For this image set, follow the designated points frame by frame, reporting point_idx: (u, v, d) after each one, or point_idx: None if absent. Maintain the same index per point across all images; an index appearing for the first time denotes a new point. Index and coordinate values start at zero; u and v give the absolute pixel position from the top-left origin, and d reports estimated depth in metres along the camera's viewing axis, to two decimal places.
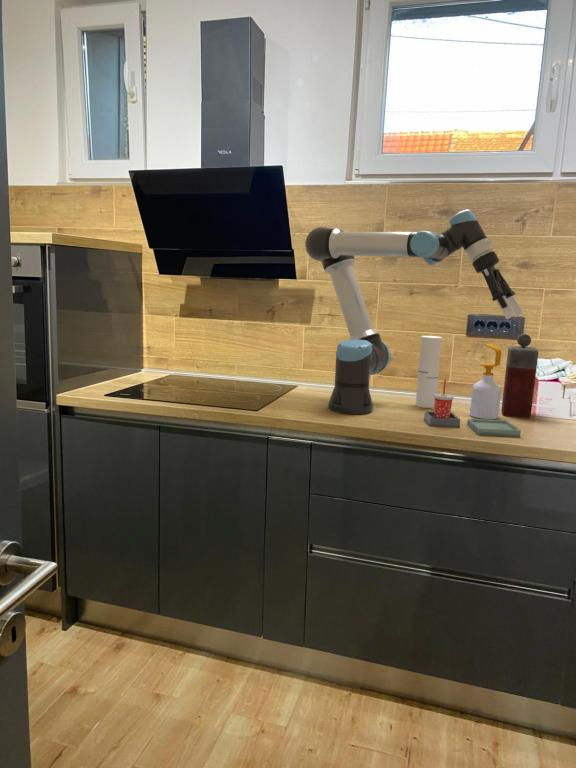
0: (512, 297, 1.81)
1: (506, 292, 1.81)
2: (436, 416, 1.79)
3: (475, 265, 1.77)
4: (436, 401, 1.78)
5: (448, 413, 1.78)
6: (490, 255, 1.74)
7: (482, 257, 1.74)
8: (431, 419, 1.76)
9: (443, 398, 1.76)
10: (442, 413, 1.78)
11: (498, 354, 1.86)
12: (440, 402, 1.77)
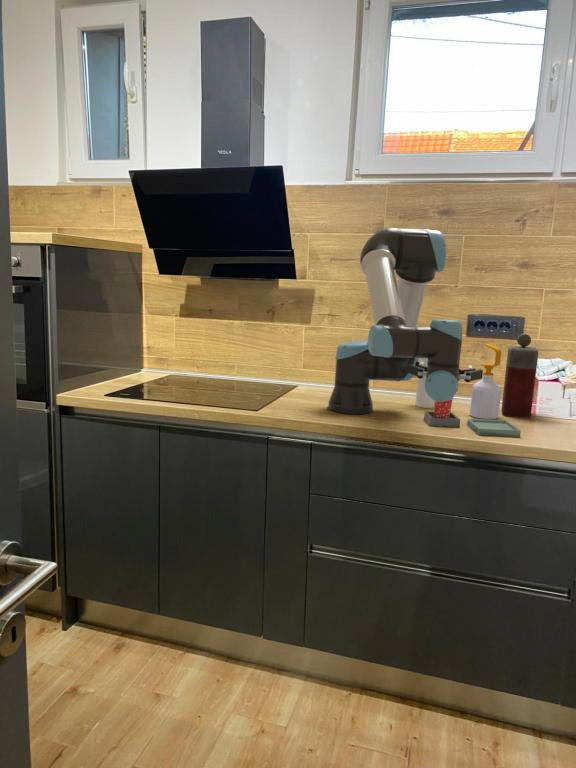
0: None
1: None
2: (436, 416, 1.79)
3: None
4: (436, 401, 1.78)
5: (448, 413, 1.78)
6: None
7: None
8: (431, 419, 1.76)
9: None
10: (442, 413, 1.78)
11: (498, 354, 1.86)
12: (440, 402, 1.77)
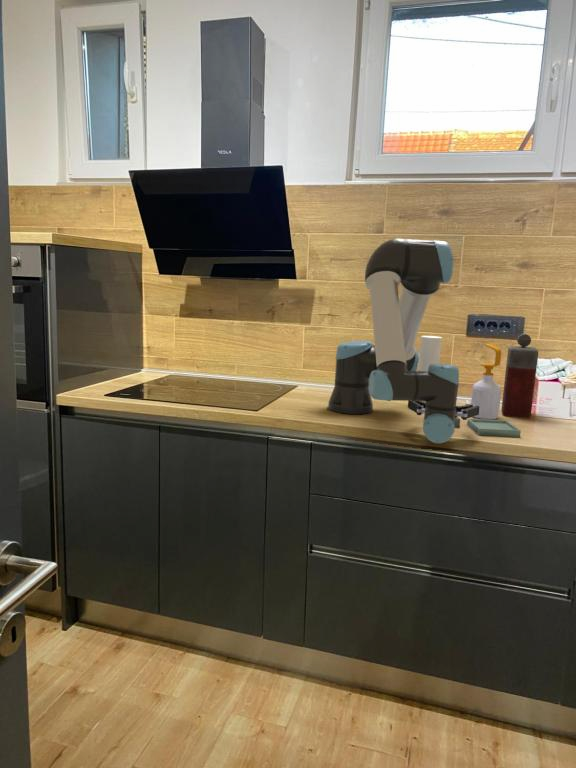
0: None
1: None
2: None
3: None
4: None
5: None
6: None
7: None
8: None
9: None
10: None
11: (498, 354, 1.86)
12: None
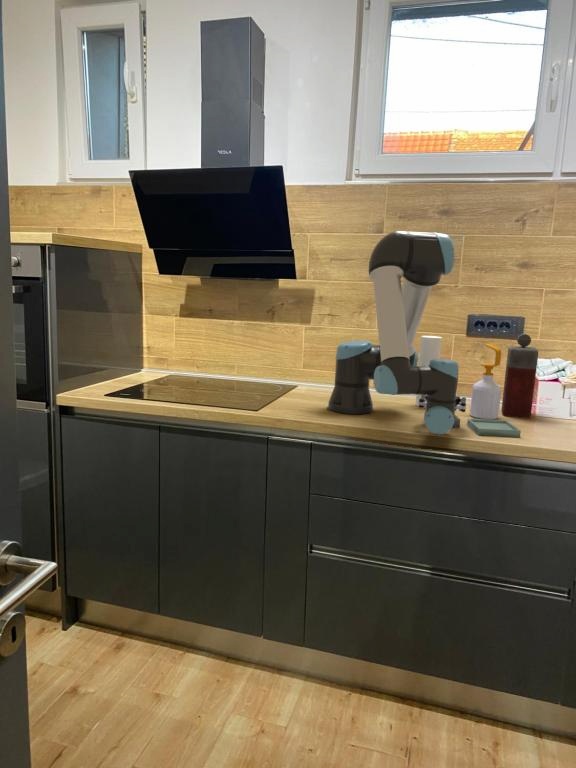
0: None
1: None
2: None
3: None
4: None
5: None
6: None
7: None
8: None
9: None
10: None
11: (498, 354, 1.86)
12: None
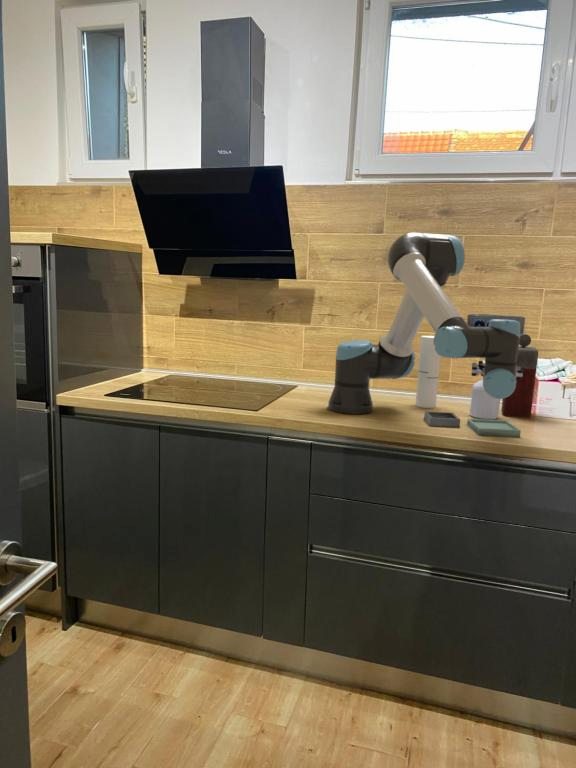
0: None
1: None
2: None
3: None
4: None
5: None
6: None
7: None
8: (431, 419, 1.76)
9: None
10: None
11: None
12: None
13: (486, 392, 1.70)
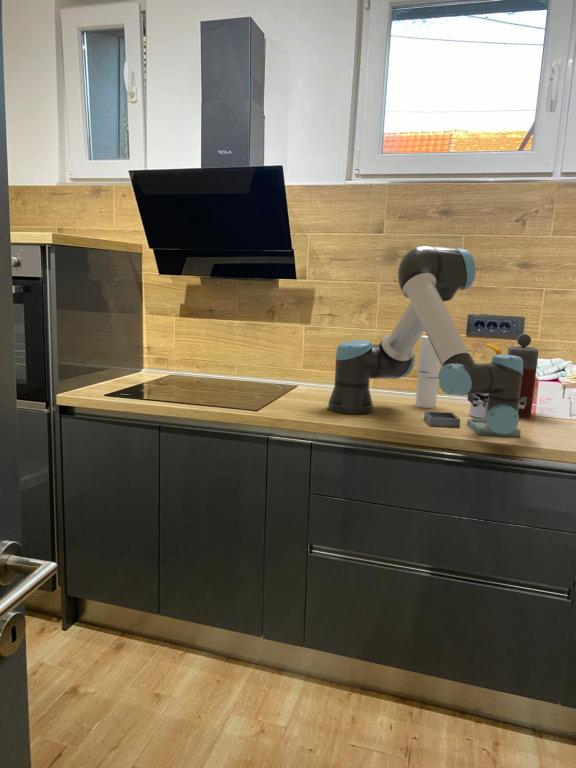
0: None
1: None
2: None
3: None
4: None
5: None
6: None
7: None
8: (431, 419, 1.76)
9: None
10: None
11: (498, 354, 1.86)
12: None
13: (486, 425, 1.72)
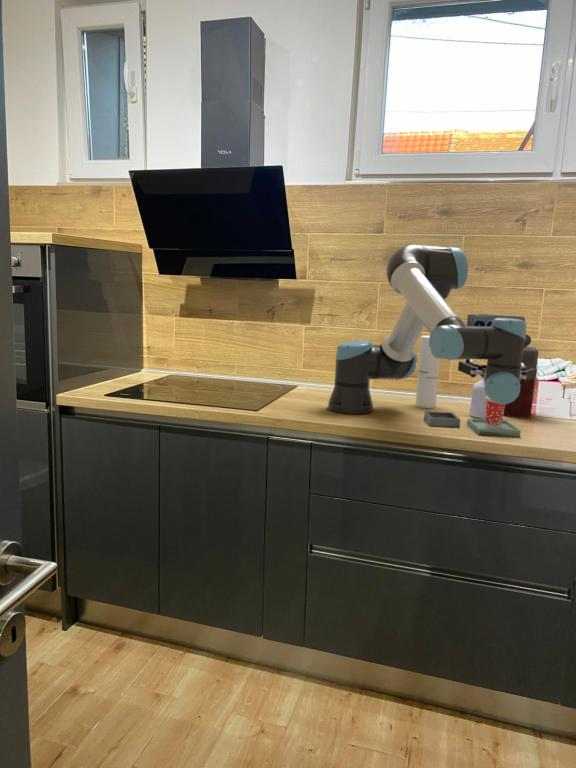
0: None
1: None
2: (488, 420, 1.71)
3: None
4: (488, 404, 1.71)
5: (501, 417, 1.71)
6: None
7: None
8: (431, 419, 1.76)
9: None
10: (494, 417, 1.70)
11: None
12: (493, 405, 1.70)
13: (486, 425, 1.72)
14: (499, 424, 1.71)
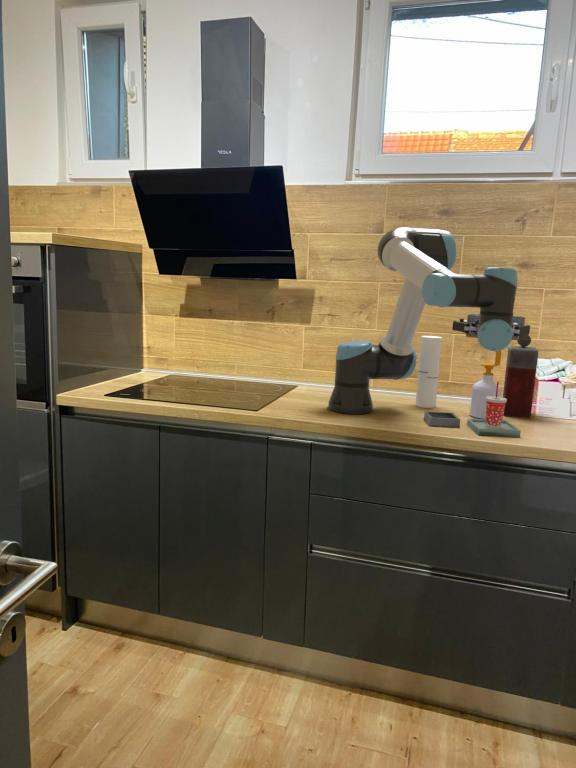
0: None
1: None
2: (488, 420, 1.71)
3: None
4: (488, 404, 1.71)
5: (501, 417, 1.71)
6: None
7: None
8: (431, 419, 1.76)
9: (496, 401, 1.69)
10: (494, 417, 1.70)
11: (498, 354, 1.86)
12: (493, 405, 1.70)
13: (486, 425, 1.72)
14: (499, 424, 1.71)
